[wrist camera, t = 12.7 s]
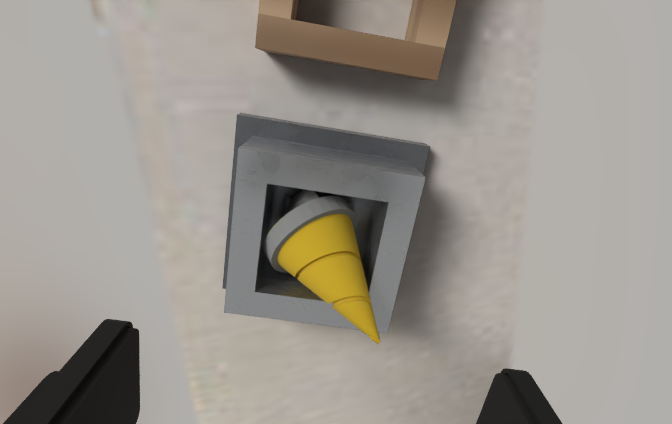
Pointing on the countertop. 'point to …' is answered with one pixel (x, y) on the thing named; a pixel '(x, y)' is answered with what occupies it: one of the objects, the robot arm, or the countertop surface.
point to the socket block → (360, 39)
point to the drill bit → (323, 254)
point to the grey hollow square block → (326, 180)
